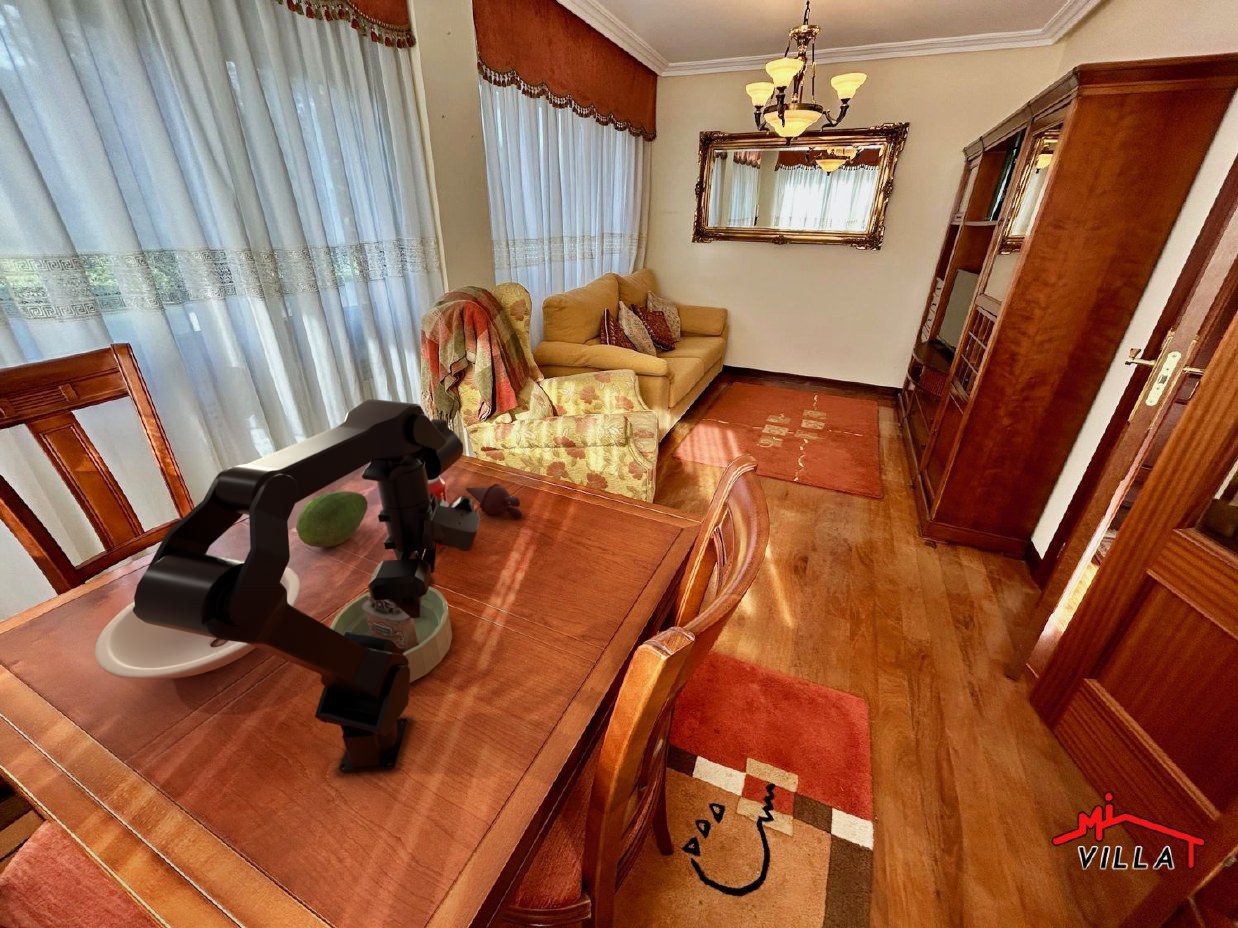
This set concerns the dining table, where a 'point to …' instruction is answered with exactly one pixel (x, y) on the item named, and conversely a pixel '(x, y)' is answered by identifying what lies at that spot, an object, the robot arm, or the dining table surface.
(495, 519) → the dining table surface
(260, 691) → the dining table surface
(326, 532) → the fruit
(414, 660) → the bowl
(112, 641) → the white sink basin
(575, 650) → the dining table surface
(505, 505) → the icecream
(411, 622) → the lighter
